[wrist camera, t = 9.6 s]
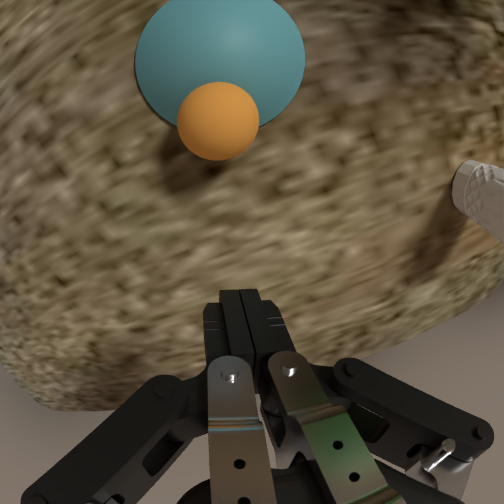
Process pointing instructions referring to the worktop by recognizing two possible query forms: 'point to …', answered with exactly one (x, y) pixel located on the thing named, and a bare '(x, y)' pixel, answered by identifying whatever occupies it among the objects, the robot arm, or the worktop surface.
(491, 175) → the white cup
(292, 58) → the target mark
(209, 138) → the ball
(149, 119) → the worktop surface
